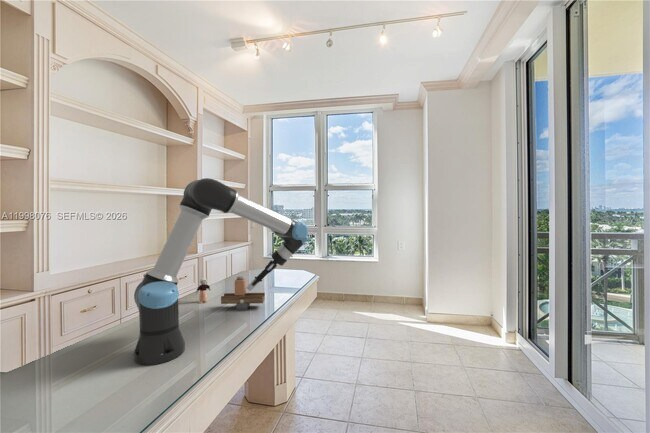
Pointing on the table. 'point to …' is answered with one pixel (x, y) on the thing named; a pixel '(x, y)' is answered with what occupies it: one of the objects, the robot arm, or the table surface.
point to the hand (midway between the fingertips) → (248, 289)
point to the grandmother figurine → (203, 290)
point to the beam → (242, 299)
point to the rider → (240, 286)
